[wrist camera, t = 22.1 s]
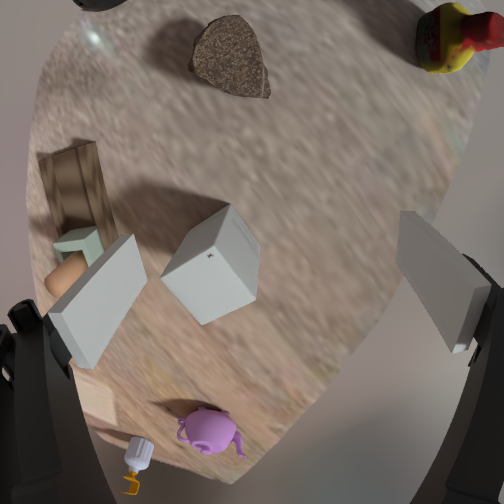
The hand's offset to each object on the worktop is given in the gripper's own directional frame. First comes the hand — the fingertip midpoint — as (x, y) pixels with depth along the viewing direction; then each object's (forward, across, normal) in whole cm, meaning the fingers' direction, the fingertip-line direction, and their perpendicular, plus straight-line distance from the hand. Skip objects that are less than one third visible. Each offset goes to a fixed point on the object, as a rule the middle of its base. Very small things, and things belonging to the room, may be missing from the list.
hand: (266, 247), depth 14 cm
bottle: (+32, +27, +18) cm, 46 cm away
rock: (+32, -4, +14) cm, 35 cm away
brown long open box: (+32, -34, -6) cm, 47 cm away
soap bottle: (+32, -55, -91) cm, 111 cm away
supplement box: (+32, -9, -13) cm, 36 cm away
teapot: (+32, -21, -66) cm, 76 cm away
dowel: (+28, -34, -12) cm, 46 cm away
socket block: (+30, -34, -12) cm, 47 cm away
